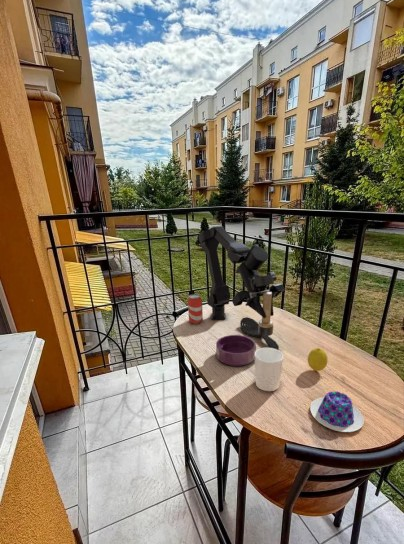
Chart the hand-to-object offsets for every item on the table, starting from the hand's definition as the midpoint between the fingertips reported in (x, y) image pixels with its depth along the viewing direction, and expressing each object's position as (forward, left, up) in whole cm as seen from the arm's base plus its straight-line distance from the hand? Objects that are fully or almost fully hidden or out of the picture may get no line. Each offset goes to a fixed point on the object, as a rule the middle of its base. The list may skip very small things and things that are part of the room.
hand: (268, 316), depth 94 cm
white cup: (+18, -3, -14) cm, 23 cm away
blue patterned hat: (+30, +12, -14) cm, 36 cm away
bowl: (+3, -11, -13) cm, 18 cm away
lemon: (+11, +13, -14) cm, 22 cm away
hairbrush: (-11, -1, -14) cm, 18 cm away
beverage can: (-26, -28, -14) cm, 40 cm away
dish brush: (-1, -1, -7) cm, 7 cm away
